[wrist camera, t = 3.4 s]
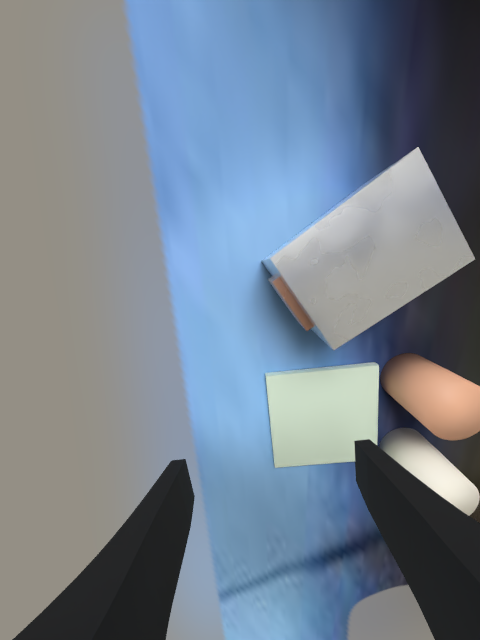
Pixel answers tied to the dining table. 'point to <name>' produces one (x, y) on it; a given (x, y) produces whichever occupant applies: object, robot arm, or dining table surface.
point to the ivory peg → (430, 467)
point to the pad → (322, 413)
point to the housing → (369, 253)
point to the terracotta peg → (433, 395)
